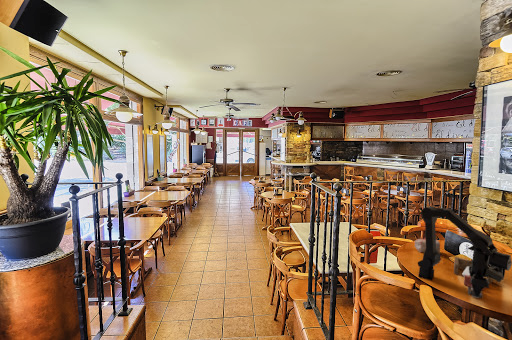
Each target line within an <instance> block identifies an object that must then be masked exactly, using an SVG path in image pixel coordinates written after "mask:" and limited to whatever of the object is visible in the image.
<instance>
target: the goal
mask: <svg viewBox="0 0 512 340" xmlns="http://www.w3.org/2000/svg"><path fill="white" fill-rule="evenodd" d="M470 264H472V259H471V260H470V259H466V258H463V257H457V256H455V257H454V262H453V273H454V275H456V276H458V273H459V269H460V270H463V271H464V270H465V269H466V267H467V266H469V265H470ZM488 267H489V266H488ZM490 268H492V266H491V267H490ZM486 279H487V280H488V281H489V284H492V282H493V279H492V278H490V277H489V276H488V278H486Z"/></svg>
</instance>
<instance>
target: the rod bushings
mask: <svg viewBox="0 0 512 340" xmlns="http://www.w3.org/2000/svg"><path fill="white" fill-rule="evenodd" d="M467 295H468V296H472V291H471V286H467ZM480 299H483V290H482V291H481V293H480Z"/></svg>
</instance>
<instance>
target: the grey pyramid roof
mask: <svg viewBox="0 0 512 340" xmlns="http://www.w3.org/2000/svg"><path fill="white" fill-rule="evenodd" d="M461 275H462V276H463V278H465V275H467V276H470V273H469V266H467V267H466V269H465V270H463V272H462V274H461ZM484 278H486V277H484Z"/></svg>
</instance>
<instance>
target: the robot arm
mask: <svg viewBox="0 0 512 340" xmlns="http://www.w3.org/2000/svg"><path fill="white" fill-rule="evenodd" d="M420 212H421V217H422V218H421V219H422V220H423V222H424V229H425V230H424V232H425V236H424V237H426V250H425V252H424V253H423V255H422V259H421V260H419V261H417V266H418V267H419V269H418V274H417V275H418V277H419V278H422V279H424V280H425V279H426V280H430V281H433V279H434V278H435V277H434V276H435V269H434V267H435V266H436V265H438V264H439V263H440V262H441V261H442V258H441V256H442V253H441V252H440V253H438V252H437V250H436V240H437V236H436V235H437V234H436V223H437V220H438V218H442V217H443V218H446V219H447V220H448V221H449V222H450V223H452V224H453V225H454V226H455V227H457V229H459V230H460V231H462V233H464V234H465V235H466V236H467V238H468V239H469V241H470V243H471V244H472V245H471V246H470V247H468V250H470V251H473V252H472V253H473V255H472V259H471V261H472V264H470V265H469V273H470V276H471V284H472V287H473V290H474V293H475V295H476V296H479V294H480V293H481V291H482V292H483V290H482V289H483V288H484V289H489V288H490V283H489V281H488V280H487V278H488V276H489V277H490V278H492V280H494V281H496V282H497V283H501V282H502V280H503V279H504V275H503V273H502V272H500V269H502V270H505V271H510V269H511V267H512V255H511V254H507V253H503V252H499V251H498V249H497V247H496V246H495V244H494V243H493V242H494V241H493V238H491V237H490V236H489V235H488V234H486V233H485V232H483V231H481V230H478V229H476V228H474V227H473V226H472V225H471V224H469V223H468V222H467V221H466V220H464V219H463V218H462V217H461V216H460V215H458V214H457V213H456V212H455V211H454V210H453V209H451V208H443V207H436V206H433V205H432V206H427V207H423V208H422V209H421V211H420ZM488 264H489V265H490V266H491V268H490V267H488ZM484 277H485V278H484Z"/></svg>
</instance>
